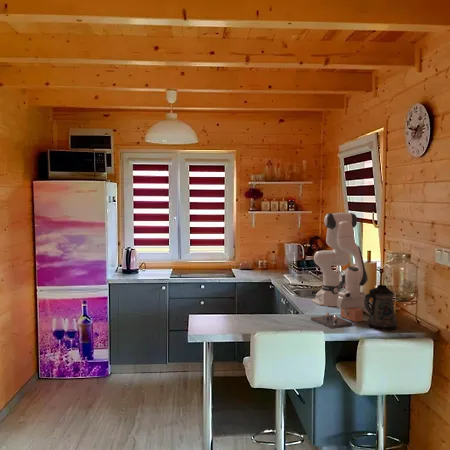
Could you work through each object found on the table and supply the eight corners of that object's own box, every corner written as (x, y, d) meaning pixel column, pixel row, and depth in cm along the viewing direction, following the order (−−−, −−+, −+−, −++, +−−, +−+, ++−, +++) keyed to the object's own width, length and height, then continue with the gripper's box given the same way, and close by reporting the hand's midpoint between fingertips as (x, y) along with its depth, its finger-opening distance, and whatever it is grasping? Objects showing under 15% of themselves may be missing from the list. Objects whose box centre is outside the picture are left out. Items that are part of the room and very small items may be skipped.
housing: (340, 316, 300) (341, 305, 300) (348, 315, 302) (348, 304, 302) (354, 321, 287) (355, 310, 287) (362, 320, 290) (363, 309, 289)
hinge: (380, 316, 303) (375, 302, 302) (373, 319, 302) (369, 304, 301) (369, 310, 319) (365, 296, 318) (363, 312, 319) (359, 299, 318)
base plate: (310, 319, 292) (311, 311, 292) (332, 317, 298) (332, 309, 298) (330, 328, 274) (330, 319, 273) (352, 325, 280) (352, 317, 280)
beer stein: (402, 327, 276) (403, 286, 275) (385, 333, 263) (386, 290, 262) (376, 322, 289) (378, 282, 287) (359, 327, 276) (360, 285, 274)
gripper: (362, 290, 301) (361, 311, 302) (336, 292, 293) (335, 314, 294) (368, 292, 295) (368, 314, 296) (342, 294, 287) (341, 317, 288)
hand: (351, 314), depth 295 cm, fingers closed on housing, 6 cm apart
